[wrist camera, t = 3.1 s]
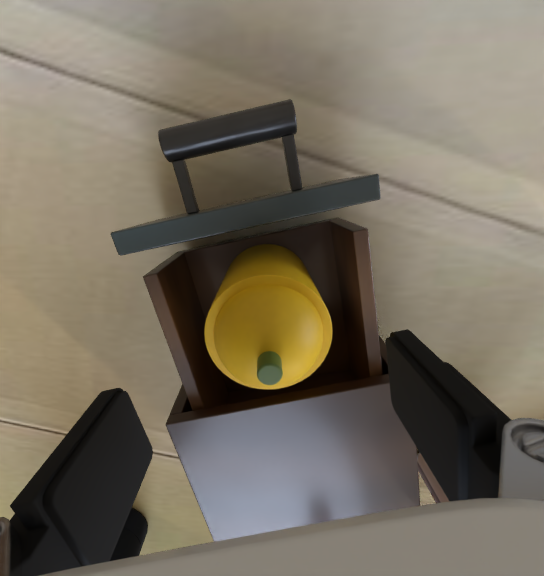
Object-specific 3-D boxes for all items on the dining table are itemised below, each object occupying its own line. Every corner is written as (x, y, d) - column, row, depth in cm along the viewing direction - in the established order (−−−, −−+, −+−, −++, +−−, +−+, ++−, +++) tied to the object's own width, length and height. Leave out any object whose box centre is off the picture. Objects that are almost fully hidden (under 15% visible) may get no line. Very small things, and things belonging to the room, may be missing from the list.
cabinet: (197, 348, 25) (164, 424, 17) (363, 315, 25) (412, 378, 16) (242, 484, 31) (234, 591, 22) (380, 459, 30) (423, 561, 22)
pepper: (215, 254, 21) (165, 319, 10) (301, 235, 20) (339, 283, 10) (236, 330, 23) (213, 450, 12) (315, 315, 22) (358, 423, 12)
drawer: (135, 153, 19) (71, 135, 13) (334, 107, 19) (370, 64, 12) (215, 394, 26) (198, 462, 19) (365, 365, 25) (400, 426, 19)
